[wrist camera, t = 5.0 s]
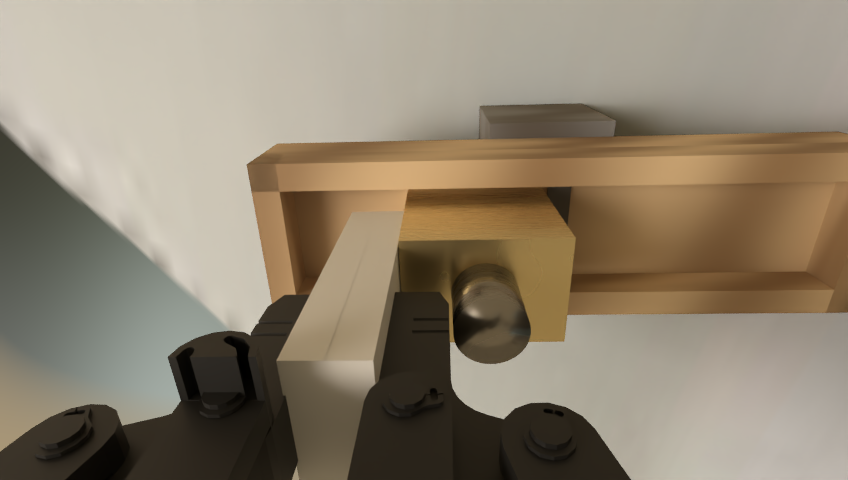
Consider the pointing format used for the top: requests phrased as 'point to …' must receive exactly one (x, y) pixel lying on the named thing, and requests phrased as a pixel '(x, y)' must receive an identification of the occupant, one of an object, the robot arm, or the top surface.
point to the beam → (596, 207)
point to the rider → (490, 265)
